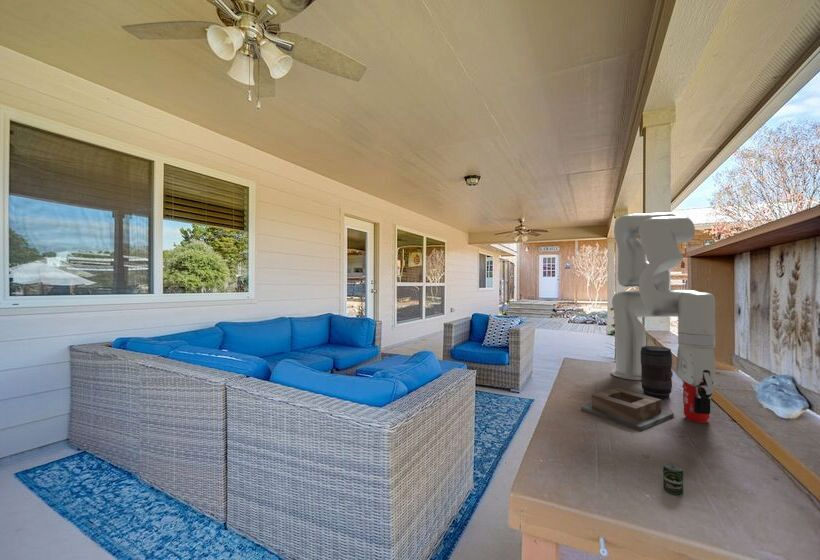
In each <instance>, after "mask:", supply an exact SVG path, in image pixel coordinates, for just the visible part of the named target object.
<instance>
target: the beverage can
mask: <svg viewBox="0 0 820 560" xmlns="http://www.w3.org/2000/svg"><path fill="white" fill-rule="evenodd" d="M699 385H704V386H705V384H704V383H700V384H699ZM701 390H704V388H700V392H701ZM694 397H696V392H695V386H691V385H690V384H688V383H686V382H685V381H684V403H683V414H684V416H685V419H687V420H688V421H690V422H693V423H699V424H706V423H708V421H709V419H710V414H700V413H696V412H695V411H694Z"/></svg>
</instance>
